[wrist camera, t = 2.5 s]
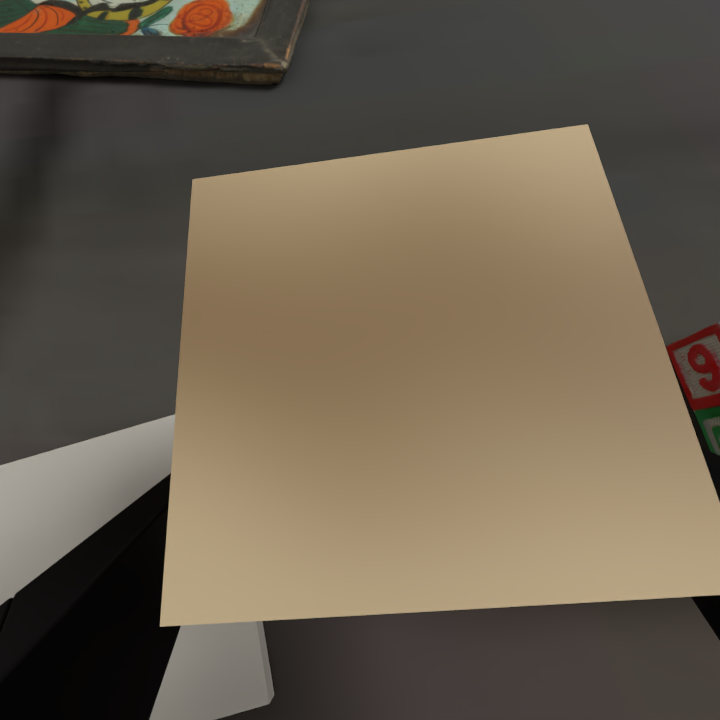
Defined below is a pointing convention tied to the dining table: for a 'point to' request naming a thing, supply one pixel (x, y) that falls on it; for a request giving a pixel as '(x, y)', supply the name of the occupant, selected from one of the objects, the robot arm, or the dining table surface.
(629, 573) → the maple block
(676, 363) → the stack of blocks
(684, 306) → the dining table surface
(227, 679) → the pad
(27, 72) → the painting
